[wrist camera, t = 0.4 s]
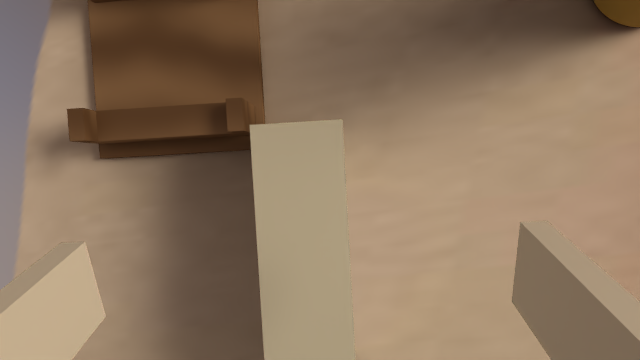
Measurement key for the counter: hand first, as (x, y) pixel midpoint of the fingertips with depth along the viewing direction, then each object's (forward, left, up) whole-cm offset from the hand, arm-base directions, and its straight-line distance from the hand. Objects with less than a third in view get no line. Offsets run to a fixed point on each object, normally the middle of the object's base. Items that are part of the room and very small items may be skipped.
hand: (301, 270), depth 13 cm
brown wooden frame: (+12, +10, -18) cm, 23 cm away
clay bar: (-2, +1, -18) cm, 18 cm away
